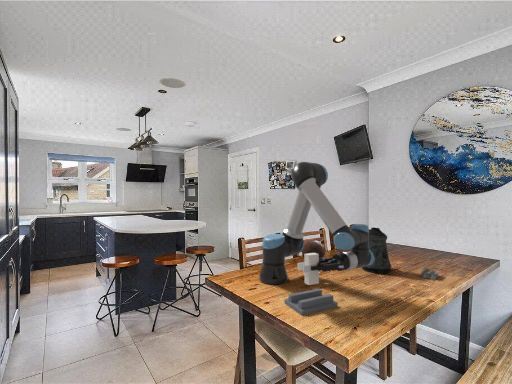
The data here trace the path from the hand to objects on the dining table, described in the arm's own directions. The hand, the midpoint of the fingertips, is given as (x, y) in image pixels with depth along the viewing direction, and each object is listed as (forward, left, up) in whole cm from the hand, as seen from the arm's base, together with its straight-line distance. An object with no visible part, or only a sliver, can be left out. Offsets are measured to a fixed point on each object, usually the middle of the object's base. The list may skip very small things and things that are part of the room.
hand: (300, 267), depth 107 cm
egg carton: (+36, +81, -16) cm, 90 cm away
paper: (-13, +43, -17) cm, 48 cm away
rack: (+2, +5, -16) cm, 17 cm away
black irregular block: (+8, +75, -16) cm, 77 cm away
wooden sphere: (-27, +65, -16) cm, 72 cm away
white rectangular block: (+2, +5, -7) cm, 9 cm away
